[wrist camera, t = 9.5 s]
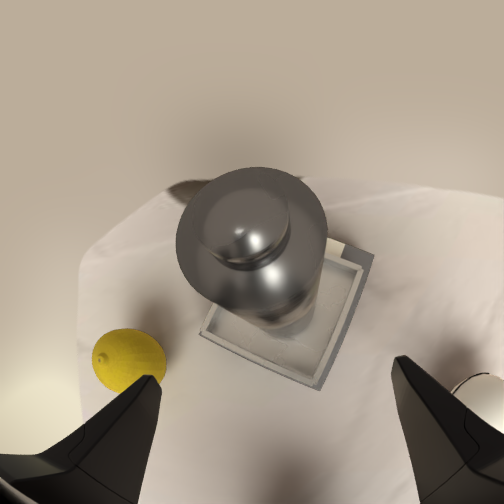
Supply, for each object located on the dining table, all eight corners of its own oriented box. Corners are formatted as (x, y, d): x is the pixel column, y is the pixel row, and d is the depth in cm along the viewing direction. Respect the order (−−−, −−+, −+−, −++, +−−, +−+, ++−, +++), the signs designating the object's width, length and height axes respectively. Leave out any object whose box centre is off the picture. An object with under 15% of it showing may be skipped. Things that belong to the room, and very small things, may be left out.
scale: (367, 266, 23) (379, 246, 19) (317, 386, 21) (321, 394, 16) (264, 228, 26) (255, 202, 22) (211, 337, 24) (189, 332, 19)
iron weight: (326, 300, 19) (363, 190, 6) (288, 349, 19) (249, 341, 6) (278, 265, 21) (231, 123, 8) (240, 312, 20) (128, 231, 7)
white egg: (483, 362, 18) (531, 358, 11) (483, 432, 15) (526, 445, 8) (393, 391, 19) (427, 404, 12) (393, 466, 16) (421, 499, 10)
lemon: (140, 325, 25) (85, 310, 18) (188, 347, 24) (140, 341, 16) (124, 375, 24) (67, 375, 16) (170, 401, 22) (118, 413, 15)
